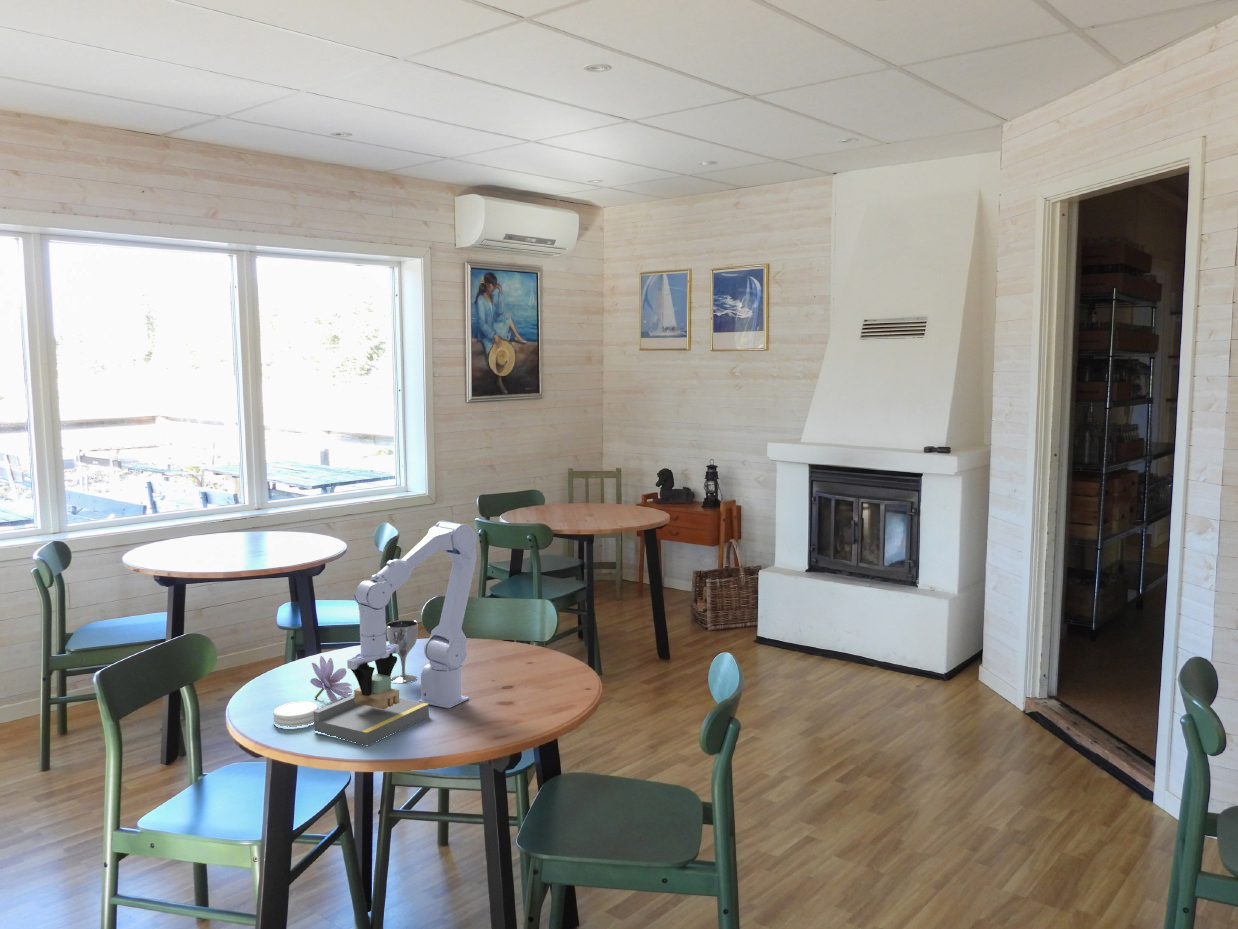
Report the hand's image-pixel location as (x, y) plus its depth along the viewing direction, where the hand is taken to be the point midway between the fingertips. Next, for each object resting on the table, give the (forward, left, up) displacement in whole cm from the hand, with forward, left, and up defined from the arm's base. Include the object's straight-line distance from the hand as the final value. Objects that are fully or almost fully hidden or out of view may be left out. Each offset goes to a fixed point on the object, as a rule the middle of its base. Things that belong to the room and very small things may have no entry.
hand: (375, 691), depth 215 cm
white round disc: (-17, -8, -8) cm, 20 cm away
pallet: (+1, 0, -3) cm, 3 cm away
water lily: (-20, +6, -8) cm, 23 cm away
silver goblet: (-16, +27, -8) cm, 32 cm away
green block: (+1, 0, 0) cm, 1 cm away
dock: (0, -1, -8) cm, 8 cm away
